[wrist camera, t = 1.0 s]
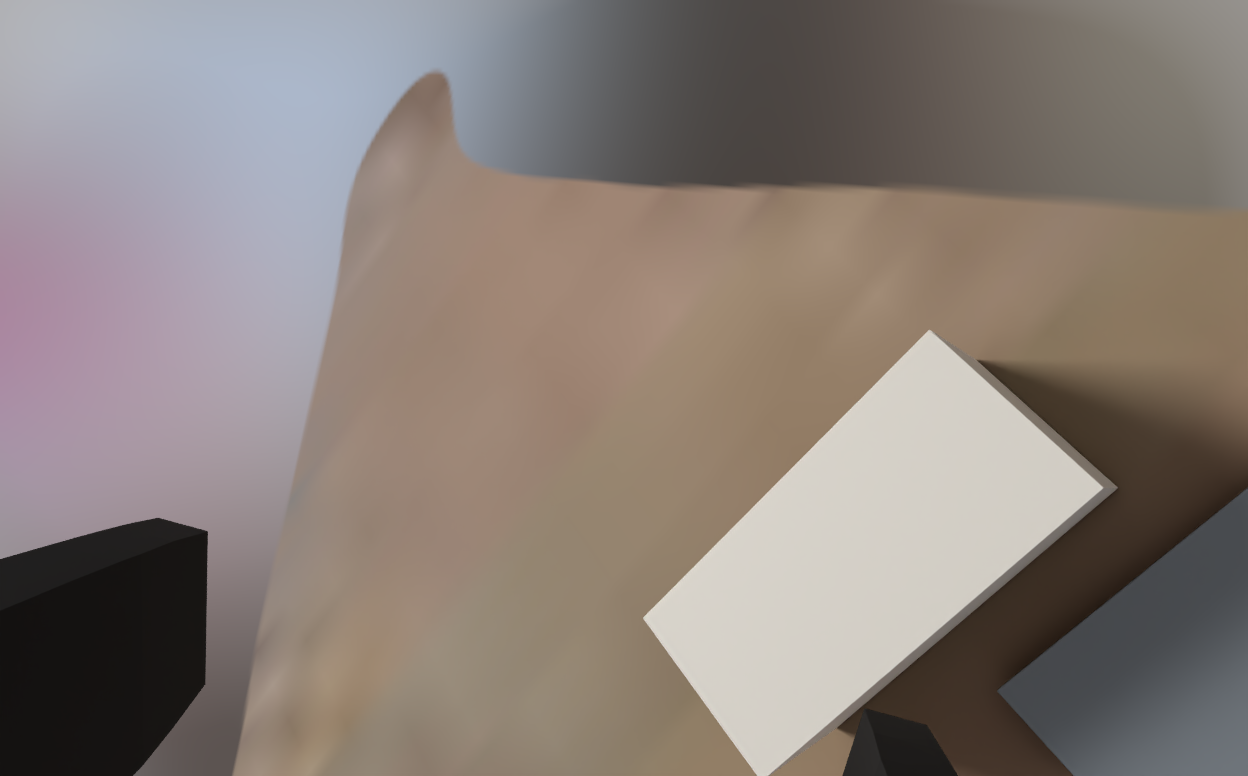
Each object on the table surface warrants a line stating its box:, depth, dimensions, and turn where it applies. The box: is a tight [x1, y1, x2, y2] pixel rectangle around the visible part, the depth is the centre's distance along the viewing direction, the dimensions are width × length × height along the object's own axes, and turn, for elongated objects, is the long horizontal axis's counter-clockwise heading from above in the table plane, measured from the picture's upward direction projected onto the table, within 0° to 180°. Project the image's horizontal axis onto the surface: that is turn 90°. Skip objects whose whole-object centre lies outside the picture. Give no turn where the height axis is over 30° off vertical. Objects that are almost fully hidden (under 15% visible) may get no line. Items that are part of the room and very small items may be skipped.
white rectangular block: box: [643, 330, 1118, 776], centre depth 19 cm, size 4×8×4 cm, turn 133°
